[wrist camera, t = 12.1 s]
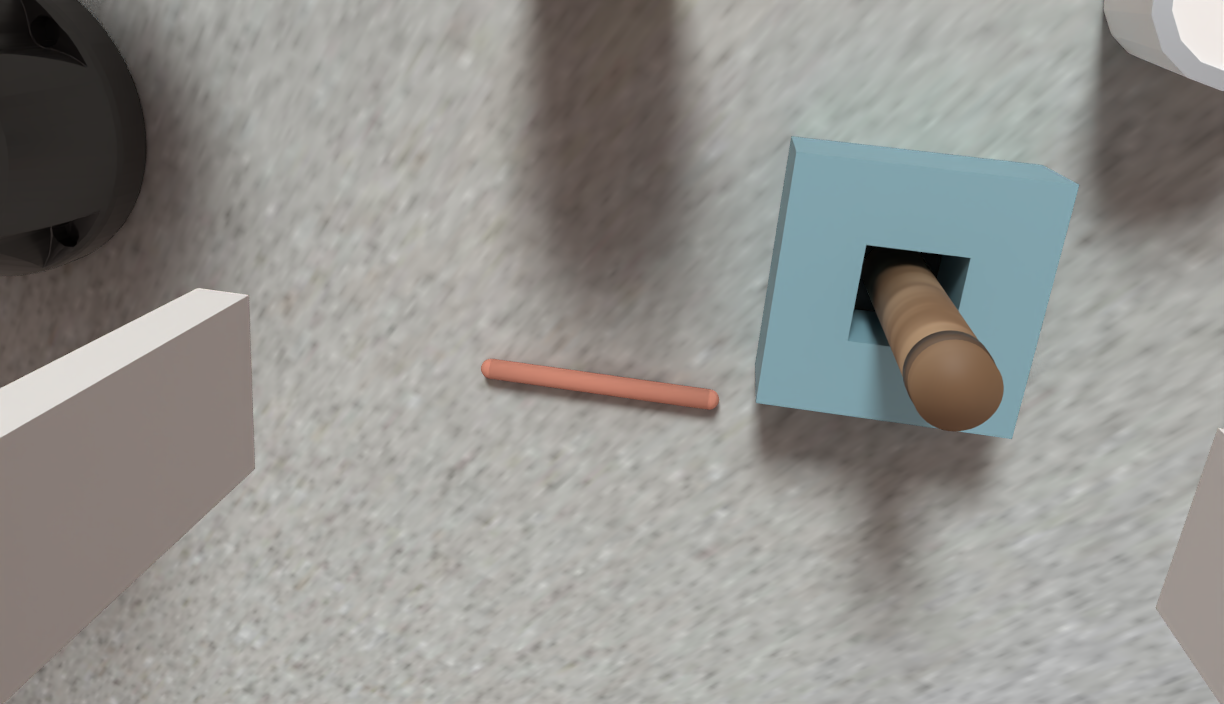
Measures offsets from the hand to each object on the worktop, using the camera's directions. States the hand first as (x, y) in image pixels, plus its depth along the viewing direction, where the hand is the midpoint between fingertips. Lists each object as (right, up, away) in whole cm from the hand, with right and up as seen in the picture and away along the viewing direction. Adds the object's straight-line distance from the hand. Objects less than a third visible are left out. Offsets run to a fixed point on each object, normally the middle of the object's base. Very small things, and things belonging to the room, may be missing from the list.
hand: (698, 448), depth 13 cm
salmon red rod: (-2, 0, +35) cm, 35 cm away
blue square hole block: (+12, +5, +32) cm, 34 cm away
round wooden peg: (+12, +5, +32) cm, 34 cm away
